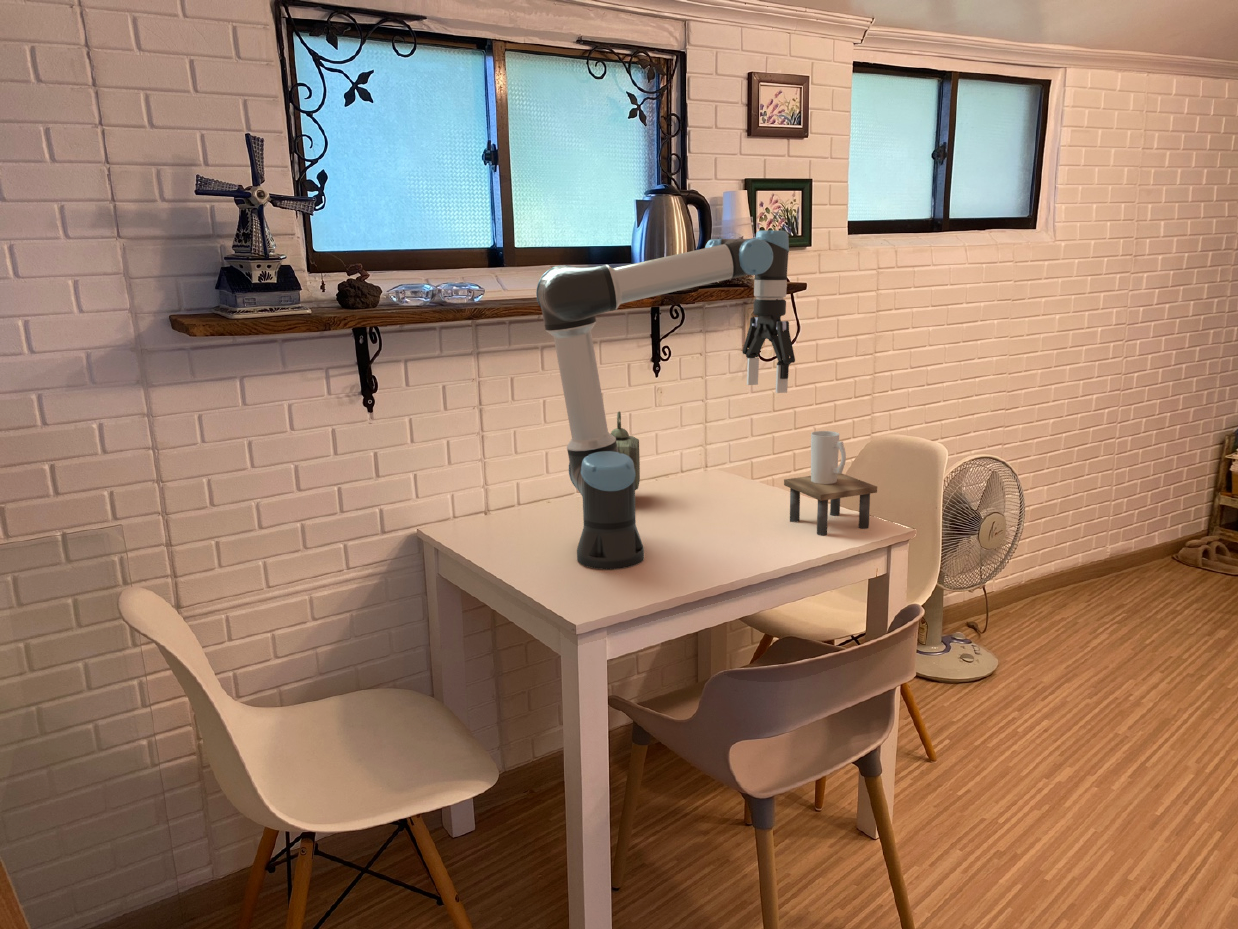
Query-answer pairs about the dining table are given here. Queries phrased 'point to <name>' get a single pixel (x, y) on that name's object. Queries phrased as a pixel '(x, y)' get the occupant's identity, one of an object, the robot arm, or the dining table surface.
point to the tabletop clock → (628, 447)
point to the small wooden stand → (825, 492)
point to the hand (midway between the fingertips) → (766, 388)
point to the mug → (826, 457)
